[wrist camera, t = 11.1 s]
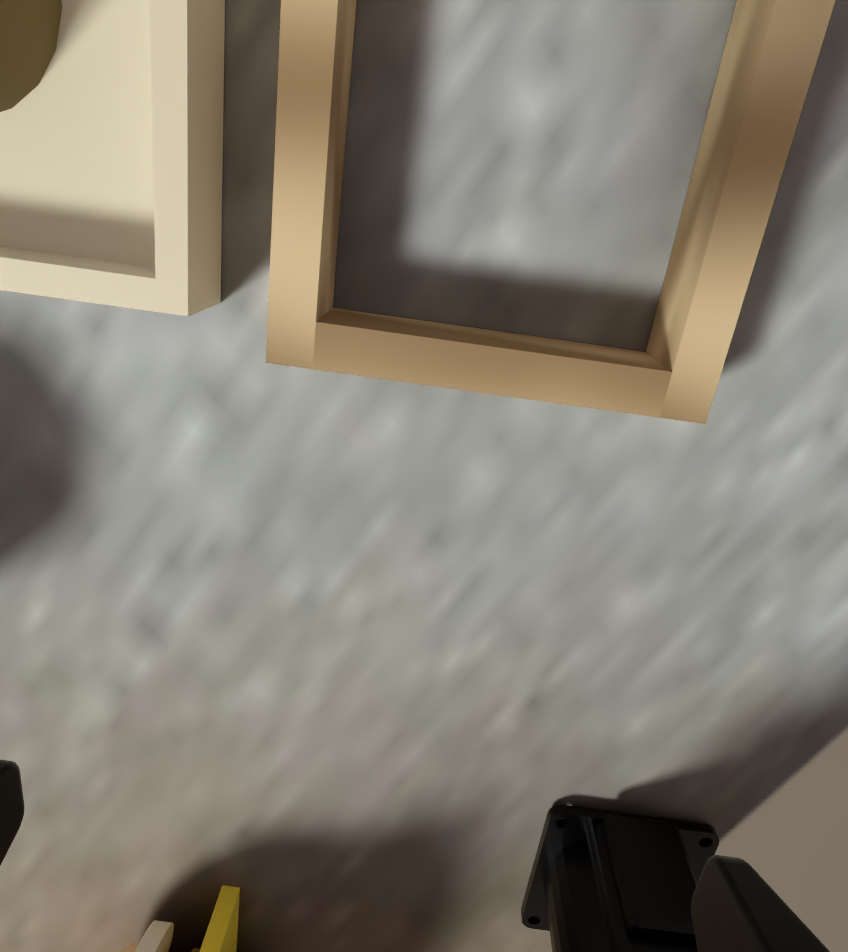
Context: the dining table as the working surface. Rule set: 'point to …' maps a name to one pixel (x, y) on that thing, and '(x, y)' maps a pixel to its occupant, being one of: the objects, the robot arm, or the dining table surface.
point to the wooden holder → (523, 356)
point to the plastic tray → (120, 160)
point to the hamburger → (219, 934)
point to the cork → (26, 45)
